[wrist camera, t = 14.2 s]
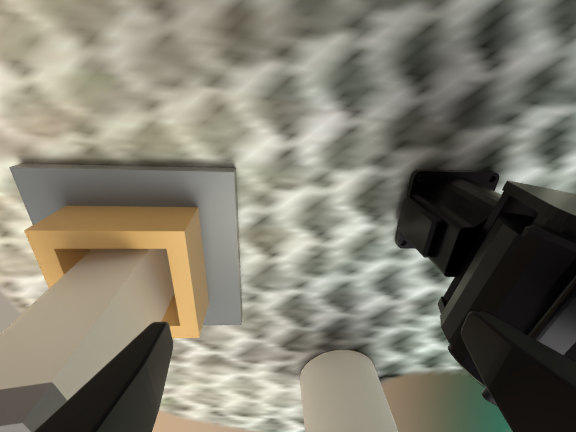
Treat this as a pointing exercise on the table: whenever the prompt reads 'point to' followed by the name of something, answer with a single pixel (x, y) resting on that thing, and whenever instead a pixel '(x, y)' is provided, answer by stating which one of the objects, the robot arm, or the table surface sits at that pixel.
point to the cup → (344, 395)
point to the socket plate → (143, 228)
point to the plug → (78, 330)
